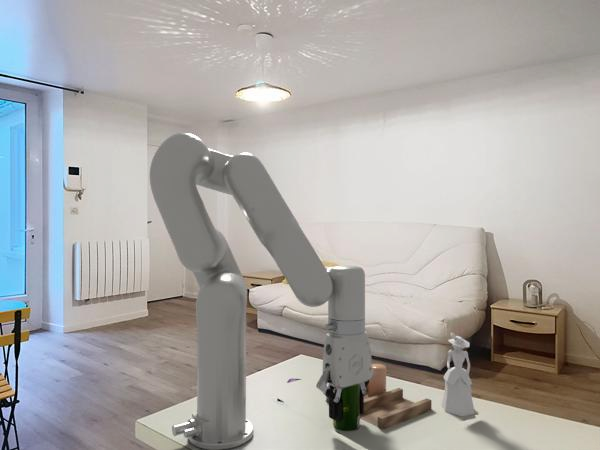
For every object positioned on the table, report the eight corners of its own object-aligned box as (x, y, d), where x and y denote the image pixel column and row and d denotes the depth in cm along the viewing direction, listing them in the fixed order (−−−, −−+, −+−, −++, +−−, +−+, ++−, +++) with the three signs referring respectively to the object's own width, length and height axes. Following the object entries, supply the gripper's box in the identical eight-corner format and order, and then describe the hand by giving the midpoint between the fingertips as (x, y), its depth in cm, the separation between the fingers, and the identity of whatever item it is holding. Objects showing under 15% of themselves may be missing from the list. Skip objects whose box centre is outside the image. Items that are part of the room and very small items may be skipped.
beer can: (359, 424, 89) (359, 366, 89) (360, 436, 84) (360, 375, 84) (333, 423, 90) (333, 365, 90) (333, 435, 84) (333, 374, 84)
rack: (383, 434, 85) (383, 419, 85) (325, 405, 99) (325, 392, 99) (433, 414, 94) (432, 400, 94) (373, 390, 109) (373, 378, 109)
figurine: (447, 420, 91) (446, 336, 91) (437, 405, 99) (437, 327, 99) (480, 421, 90) (480, 336, 91) (468, 406, 99) (467, 328, 99)
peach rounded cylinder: (377, 400, 99) (377, 370, 99) (363, 395, 103) (363, 365, 103) (390, 396, 102) (390, 367, 102) (376, 391, 105) (376, 362, 105)
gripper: (326, 336, 79) (326, 434, 79) (388, 324, 89) (388, 411, 89) (302, 328, 85) (301, 420, 85) (363, 318, 95) (363, 400, 95)
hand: (346, 414), depth 87 cm, fingers closed on beer can, 5 cm apart
